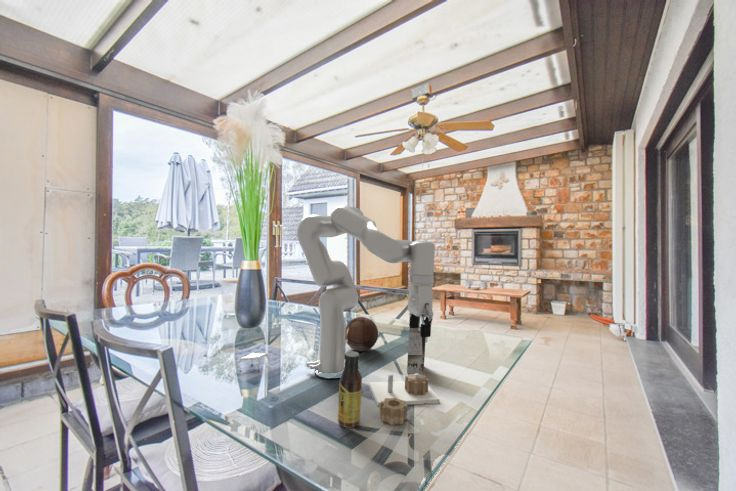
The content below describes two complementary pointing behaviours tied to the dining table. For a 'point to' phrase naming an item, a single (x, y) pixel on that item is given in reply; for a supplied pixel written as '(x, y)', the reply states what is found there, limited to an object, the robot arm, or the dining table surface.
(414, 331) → the coffee box
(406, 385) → the gear board
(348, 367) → the sauce bottle
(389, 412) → the beech gear
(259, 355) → the origami figure
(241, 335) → the dining table surface
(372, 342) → the wooden sphere
